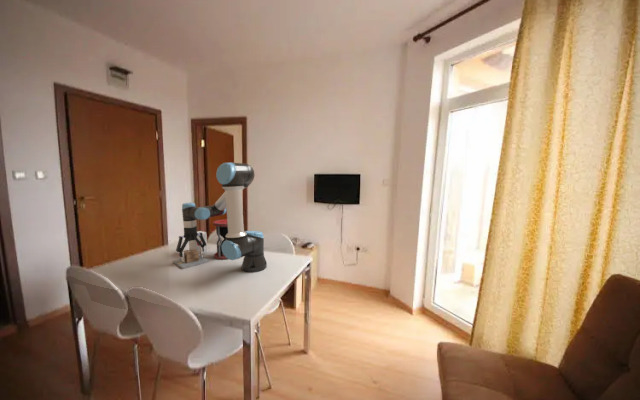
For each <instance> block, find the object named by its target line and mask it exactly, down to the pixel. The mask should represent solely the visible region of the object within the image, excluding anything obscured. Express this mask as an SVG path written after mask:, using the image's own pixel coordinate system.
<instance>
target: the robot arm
mask: <svg viewBox="0 0 640 400" xmlns="http://www.w3.org/2000/svg"><path fill="white" fill-rule="evenodd" d="M215 176H216V180H217V181H218V183H219V184H220V185H221V188H222V189H224V192H223V193H222V195H221V196H220V197H219V198H218V199H217V200H216V201H215V203H214V204H213V205H212V204H211V205H206V206H196V203H195V202H185V203H182V205H181V207H182V208H181V212H182V224H183V235H179V236H178V242H177V245H176V249H175V251H176V252H177V253H179V257H180V259H182V262H185V260H184V252H183V251H185V248H186V247H187V244H189V241H191V240H196V242H197V243H198V244H199V245H200V246H201V247H199V248H200V254H199V255H200V256H201V257H204V255H203V254H204V253H203V251H204V246H206V242H205V240H204V238H203V236H202V233H201V232H199V233H197V232H198V227H197V220H199V221H204V220H208V219H209V218H214V217H215V218H216V217H220V216H223V215H225V214H226V219H227V224H228V233H227V235H226V236H225V237H226V241H224V242H223V244H222V246H221V248H222V252H223V254H224V256H225V257H226V258H228V259H227V260H230V261H235V260H239V259H241V258H243V261H242V264H241V270H242V271H244V272H248V273H255V272H256V273H257V272H260V271H261V272H262V271H263V270H265V269H267V268H268V267H267V266H268V264H267V260H266V257H265V252H264V251H265V247H264V246H265V245H264V243H265V240H264V239H265V237H264V233H263V232H262V231H259V230H245V226H244V215H243V214H244V210H243V197H242V196H243V195H242V192H243V190H244V189H246V188H248V187H249V186H250V185H251V184H252V182H253V181H254V180H255V170H254V169H253V167H252V166H251V165H250V164H248V163H245V162H243V163H242V162H241V163H240V162H232V161H231V162H223V163H222V164H219V166H218V167H217V170H216V175H215ZM197 235H199V237H200V239H201V241H202V243H203V244H202V243H201V242H200V241H199V240H198V239H197Z"/></svg>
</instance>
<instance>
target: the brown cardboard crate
mask: <svg viewBox="0 0 640 400" xmlns="http://www.w3.org/2000/svg"><path fill="white" fill-rule="evenodd" d="M183 252H184V260H185V262H187V263H189V262H194V261H198V260H199V255H200V254H199V251H197V250H195V249H192V250H189V249H188V250H183Z"/></svg>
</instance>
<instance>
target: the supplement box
mask: <svg viewBox="0 0 640 400" xmlns="http://www.w3.org/2000/svg"><path fill="white" fill-rule="evenodd" d="M199 232H201V233H202V236H203V238H204V240H205V242H206V246H204V251H203V254H205V253H208V242H207V241H208V239H207V238H208V236H207V232H206V231H202V230H199V231H198V230H197V233H199ZM197 239H198V240H199V241H200V242H201V243H202V241H201V239H200V237H199V235H197ZM202 244H203V243H202ZM199 247H201V246H200V245H199V244H198V243H197V242H196V240H191V241H188V248H189V249H188V250H192V249H195V250H197V251H199V255H200V248H199Z"/></svg>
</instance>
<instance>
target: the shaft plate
mask: <svg viewBox="0 0 640 400" xmlns="http://www.w3.org/2000/svg"><path fill="white" fill-rule="evenodd" d="M209 262H210V260H209V259H207V258H206V257H204V256H203V257H201V256H200V254H199V260H198V261H194V262H189V263H187V262H182V258H178V259H175V260H173V264H175V265H176V266H177V267H179V268H181V269H182V270H184V269H187V268H191V267H195V266H199V265H203V264H206V263H209Z"/></svg>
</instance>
